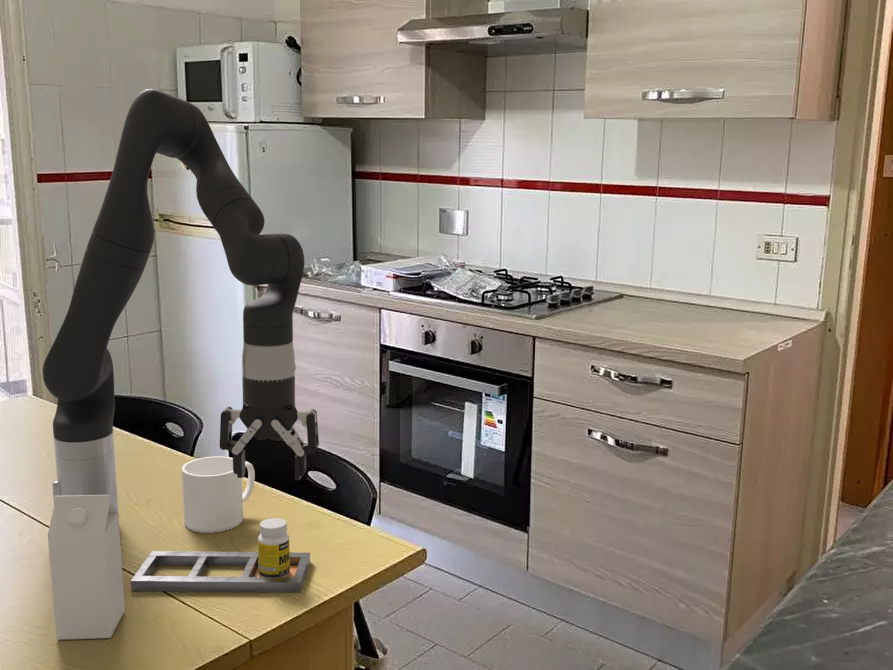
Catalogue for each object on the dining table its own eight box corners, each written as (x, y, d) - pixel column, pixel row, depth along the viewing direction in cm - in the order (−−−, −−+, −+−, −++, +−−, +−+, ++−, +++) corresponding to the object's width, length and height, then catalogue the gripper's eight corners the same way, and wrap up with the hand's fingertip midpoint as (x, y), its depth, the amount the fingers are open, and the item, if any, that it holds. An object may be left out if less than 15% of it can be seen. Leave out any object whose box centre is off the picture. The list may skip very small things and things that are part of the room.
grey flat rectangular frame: (131, 590, 133) (130, 580, 133) (152, 560, 143) (152, 551, 143) (300, 592, 133) (300, 582, 133) (310, 562, 143) (310, 552, 143)
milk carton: (73, 613, 127) (63, 486, 123) (125, 612, 127) (116, 485, 123) (56, 641, 120) (44, 506, 116) (111, 639, 120) (101, 505, 116)
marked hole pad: (251, 585, 135) (251, 584, 135) (259, 567, 141) (259, 565, 141) (292, 586, 135) (292, 584, 135) (298, 567, 141) (298, 565, 141)
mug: (194, 538, 151) (191, 480, 149) (177, 517, 160) (174, 462, 158) (265, 522, 158) (263, 467, 156) (245, 503, 166) (243, 450, 164)
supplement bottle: (283, 583, 136) (281, 531, 134) (253, 580, 136) (252, 528, 135) (294, 569, 140) (293, 518, 138) (266, 566, 141) (264, 515, 139)
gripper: (212, 376, 128) (215, 485, 131) (313, 379, 128) (313, 488, 131) (226, 364, 135) (228, 467, 138) (321, 367, 135) (321, 470, 138)
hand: (270, 477), depth 135 cm, fingers open, 8 cm apart
